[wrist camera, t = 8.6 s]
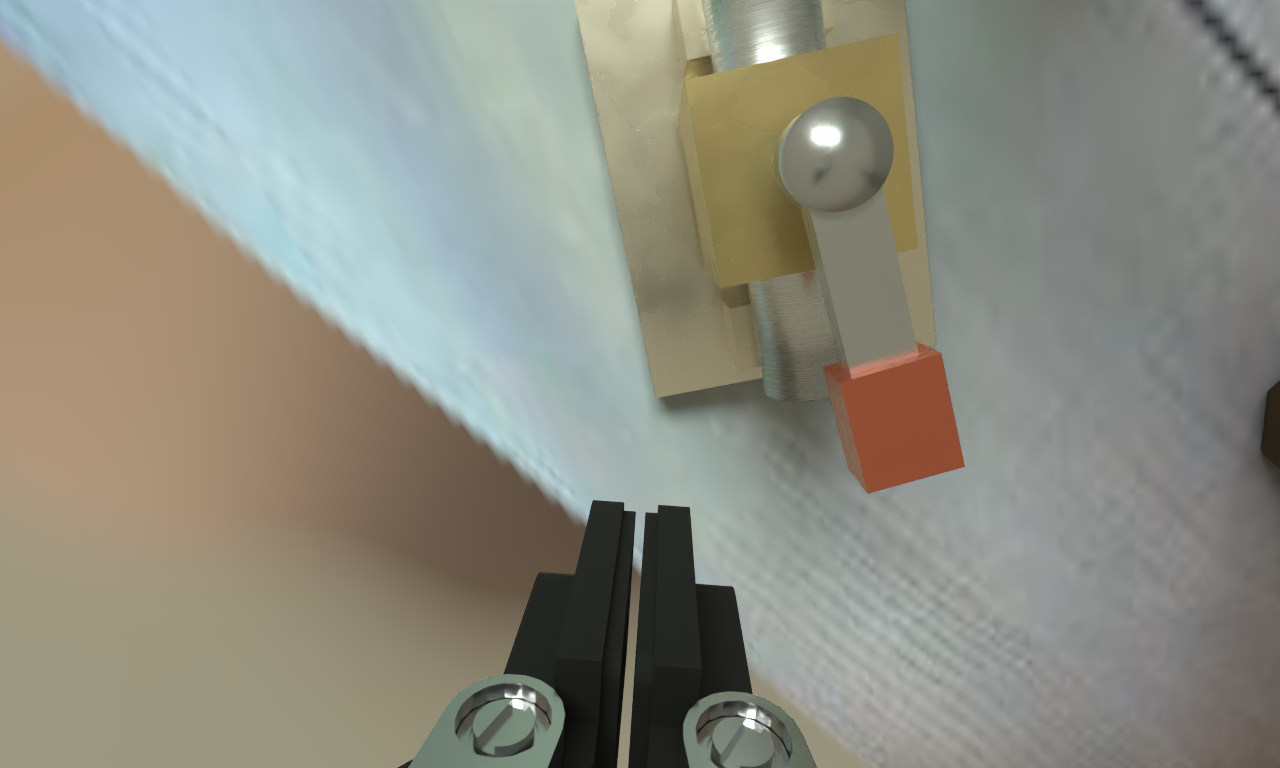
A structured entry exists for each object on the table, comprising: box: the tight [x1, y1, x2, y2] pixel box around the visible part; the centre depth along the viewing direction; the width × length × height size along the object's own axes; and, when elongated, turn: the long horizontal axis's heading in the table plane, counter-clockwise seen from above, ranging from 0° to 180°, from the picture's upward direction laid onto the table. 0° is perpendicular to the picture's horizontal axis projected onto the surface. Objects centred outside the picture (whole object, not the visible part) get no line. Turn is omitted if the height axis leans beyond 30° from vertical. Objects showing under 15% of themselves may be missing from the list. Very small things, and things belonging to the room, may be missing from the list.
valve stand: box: [574, 0, 936, 401], centre depth 22 cm, size 12×16×10 cm
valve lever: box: [773, 97, 965, 493], centre depth 17 cm, size 10×3×2 cm, turn 18°
